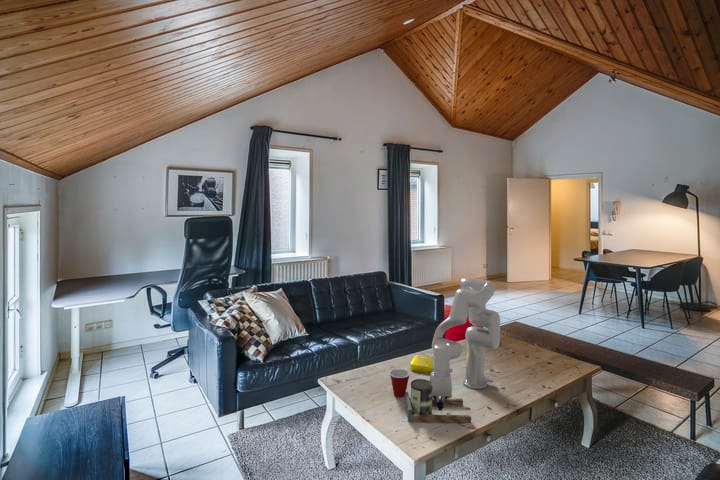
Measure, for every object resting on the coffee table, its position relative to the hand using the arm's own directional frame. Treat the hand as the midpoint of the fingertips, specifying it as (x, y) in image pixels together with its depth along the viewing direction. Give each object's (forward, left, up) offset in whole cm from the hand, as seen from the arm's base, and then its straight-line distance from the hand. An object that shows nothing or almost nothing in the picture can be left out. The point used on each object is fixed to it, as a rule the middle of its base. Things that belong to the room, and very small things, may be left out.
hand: (439, 408), depth 180 cm
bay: (+1, 0, -2) cm, 3 cm away
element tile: (-1, -50, -3) cm, 50 cm away
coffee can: (+9, -1, -2) cm, 9 cm away
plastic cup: (+17, -17, -2) cm, 24 cm away
